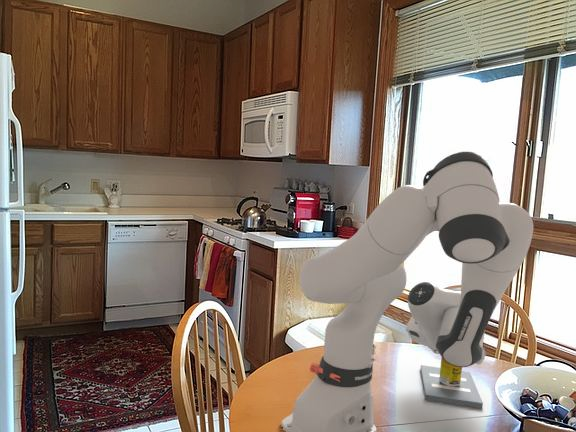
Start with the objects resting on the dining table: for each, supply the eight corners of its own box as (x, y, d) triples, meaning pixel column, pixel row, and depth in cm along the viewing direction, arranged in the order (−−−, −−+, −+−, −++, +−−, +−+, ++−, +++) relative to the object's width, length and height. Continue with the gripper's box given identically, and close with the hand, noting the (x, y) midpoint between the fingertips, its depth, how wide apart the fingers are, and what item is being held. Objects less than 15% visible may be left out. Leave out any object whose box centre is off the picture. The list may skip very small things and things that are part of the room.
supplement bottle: (451, 388, 130) (455, 352, 129) (434, 380, 134) (438, 345, 133) (464, 384, 133) (468, 349, 132) (448, 376, 137) (451, 342, 136)
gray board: (482, 409, 123) (482, 403, 123) (425, 400, 126) (425, 394, 126) (469, 376, 142) (469, 371, 142) (420, 370, 145) (420, 364, 145)
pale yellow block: (358, 365, 146) (359, 347, 146) (342, 354, 154) (343, 337, 154) (384, 361, 151) (386, 344, 150) (367, 350, 159) (368, 334, 158)
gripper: (482, 330, 120) (494, 360, 128) (410, 309, 134) (425, 336, 142) (472, 352, 117) (485, 380, 125) (400, 327, 132) (415, 354, 139)
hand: (453, 357), depth 134 cm, fingers open, 8 cm apart
